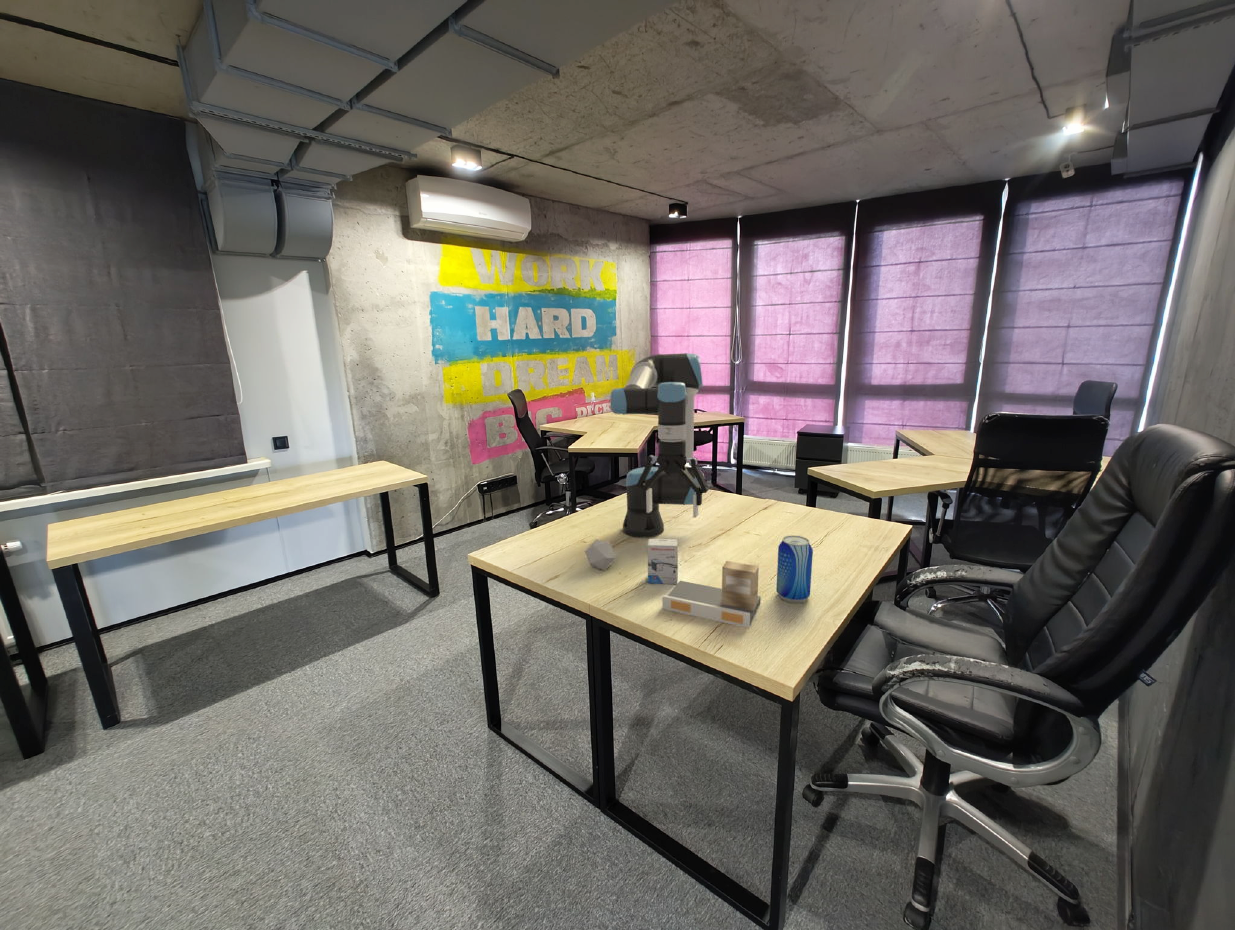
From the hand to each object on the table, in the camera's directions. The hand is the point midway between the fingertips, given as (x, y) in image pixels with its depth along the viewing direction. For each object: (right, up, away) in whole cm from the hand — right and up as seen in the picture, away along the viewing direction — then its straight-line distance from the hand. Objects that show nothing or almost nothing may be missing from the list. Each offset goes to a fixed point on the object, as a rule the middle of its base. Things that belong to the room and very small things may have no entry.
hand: (672, 513), depth 140 cm
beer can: (+31, -21, -9) cm, 39 cm away
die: (-21, -18, +13) cm, 30 cm away
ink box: (-2, -20, +3) cm, 20 cm away
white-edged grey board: (+9, -22, -12) cm, 27 cm away
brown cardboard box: (+15, -21, -15) cm, 30 cm away
